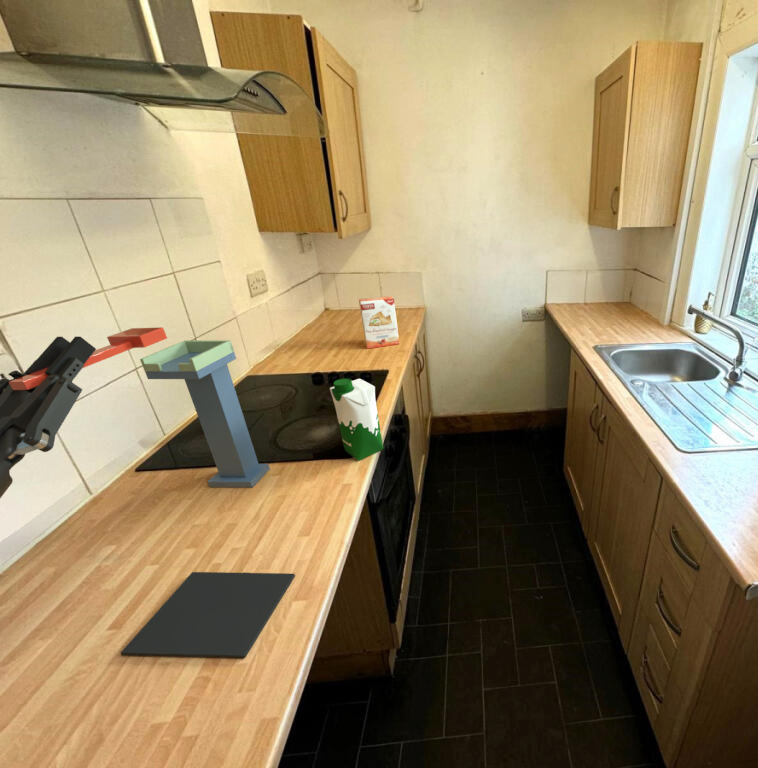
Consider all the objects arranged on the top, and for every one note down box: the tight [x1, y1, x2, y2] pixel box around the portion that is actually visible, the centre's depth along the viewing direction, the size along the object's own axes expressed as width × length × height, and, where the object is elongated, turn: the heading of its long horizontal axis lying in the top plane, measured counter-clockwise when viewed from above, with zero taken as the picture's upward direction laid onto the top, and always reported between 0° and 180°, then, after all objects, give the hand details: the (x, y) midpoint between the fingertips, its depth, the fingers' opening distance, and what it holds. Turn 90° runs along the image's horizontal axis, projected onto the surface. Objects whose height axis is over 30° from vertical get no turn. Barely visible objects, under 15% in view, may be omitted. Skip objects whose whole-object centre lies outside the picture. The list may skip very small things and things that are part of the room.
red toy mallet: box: [9, 327, 168, 390], centre depth 62 cm, size 6×21×2 cm, turn 178°
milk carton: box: [329, 378, 384, 462], centre depth 103 cm, size 9×9×20 cm
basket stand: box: [139, 339, 271, 489], centre depth 88 cm, size 10×11×32 cm
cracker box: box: [358, 295, 400, 349], centre depth 180 cm, size 14×6×21 cm, turn 115°
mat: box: [120, 571, 296, 659], centre depth 65 cm, size 18×14×1 cm
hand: (76, 343), depth 60 cm, fingers closed on red toy mallet, 2 cm apart
